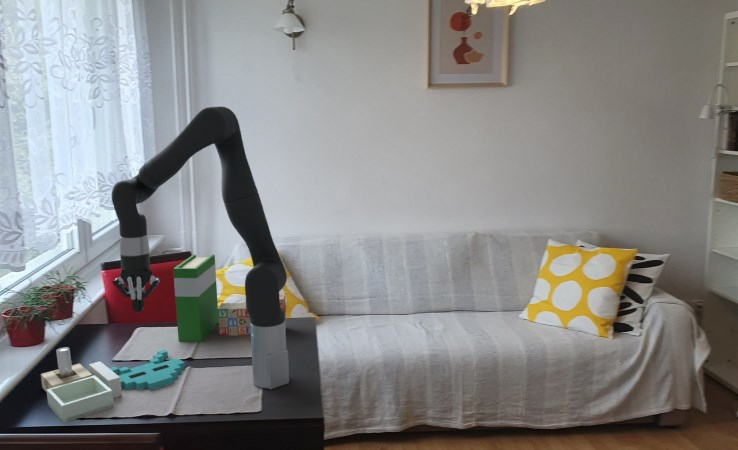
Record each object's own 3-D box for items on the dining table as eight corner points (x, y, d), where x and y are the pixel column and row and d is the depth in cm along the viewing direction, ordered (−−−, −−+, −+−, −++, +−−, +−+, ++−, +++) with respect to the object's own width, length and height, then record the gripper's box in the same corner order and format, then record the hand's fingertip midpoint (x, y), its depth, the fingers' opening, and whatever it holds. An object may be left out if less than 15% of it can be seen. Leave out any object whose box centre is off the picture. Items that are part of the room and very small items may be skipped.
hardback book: (197, 322, 224) (193, 254, 219) (218, 322, 223) (214, 254, 218) (178, 341, 207) (173, 268, 202) (201, 342, 206) (196, 268, 201)
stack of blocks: (218, 336, 211) (216, 300, 209) (222, 329, 217) (220, 294, 215) (284, 335, 211) (283, 298, 209) (286, 328, 218) (285, 292, 215)
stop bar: (121, 394, 170) (120, 377, 169) (110, 398, 168) (108, 380, 167) (101, 378, 180) (100, 361, 179) (90, 381, 179) (89, 364, 178)
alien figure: (97, 375, 183) (125, 399, 169) (96, 368, 183) (124, 391, 168) (164, 356, 196) (196, 376, 182) (164, 349, 196) (195, 369, 181)
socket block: (93, 388, 174) (92, 374, 173) (54, 400, 168) (52, 386, 167) (80, 376, 182) (79, 363, 181) (42, 387, 175) (40, 374, 174)
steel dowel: (76, 388, 174) (71, 349, 172) (63, 392, 172) (58, 353, 170) (72, 384, 177) (67, 346, 175) (59, 388, 175) (54, 349, 172)
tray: (113, 406, 164) (112, 390, 163) (63, 422, 156) (61, 405, 155) (96, 390, 173) (94, 375, 172) (48, 405, 165) (46, 389, 164)
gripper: (105, 254, 174) (109, 316, 178) (155, 254, 175) (158, 315, 179) (114, 248, 182) (119, 307, 185) (162, 248, 182) (166, 306, 186)
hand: (138, 311), depth 182 cm, fingers closed
